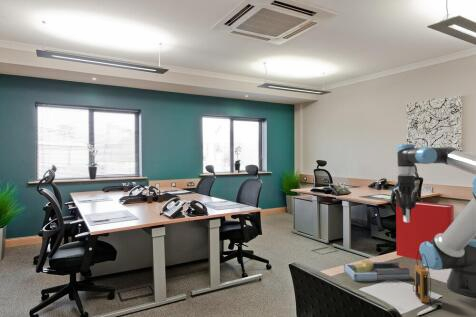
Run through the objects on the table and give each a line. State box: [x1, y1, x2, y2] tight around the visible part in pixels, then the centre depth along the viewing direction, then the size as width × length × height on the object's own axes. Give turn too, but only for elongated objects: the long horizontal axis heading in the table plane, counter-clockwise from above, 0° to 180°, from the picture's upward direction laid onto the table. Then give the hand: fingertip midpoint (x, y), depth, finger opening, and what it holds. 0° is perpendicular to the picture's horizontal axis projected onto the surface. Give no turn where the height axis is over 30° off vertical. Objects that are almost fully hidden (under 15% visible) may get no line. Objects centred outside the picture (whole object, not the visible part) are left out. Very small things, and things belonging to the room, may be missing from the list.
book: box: [395, 201, 455, 262], centre depth 176 cm, size 27×8×32 cm, turn 42°
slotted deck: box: [369, 261, 411, 281], centre depth 154 cm, size 12×16×4 cm
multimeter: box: [412, 250, 447, 309], centre depth 127 cm, size 15×10×20 cm
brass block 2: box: [361, 259, 374, 273], centre depth 153 cm, size 4×4×4 cm
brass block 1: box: [353, 263, 366, 273], centre depth 153 cm, size 4×4×4 cm
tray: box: [343, 263, 378, 282], centre depth 153 cm, size 13×11×4 cm
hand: (406, 221), depth 154 cm, fingers closed
